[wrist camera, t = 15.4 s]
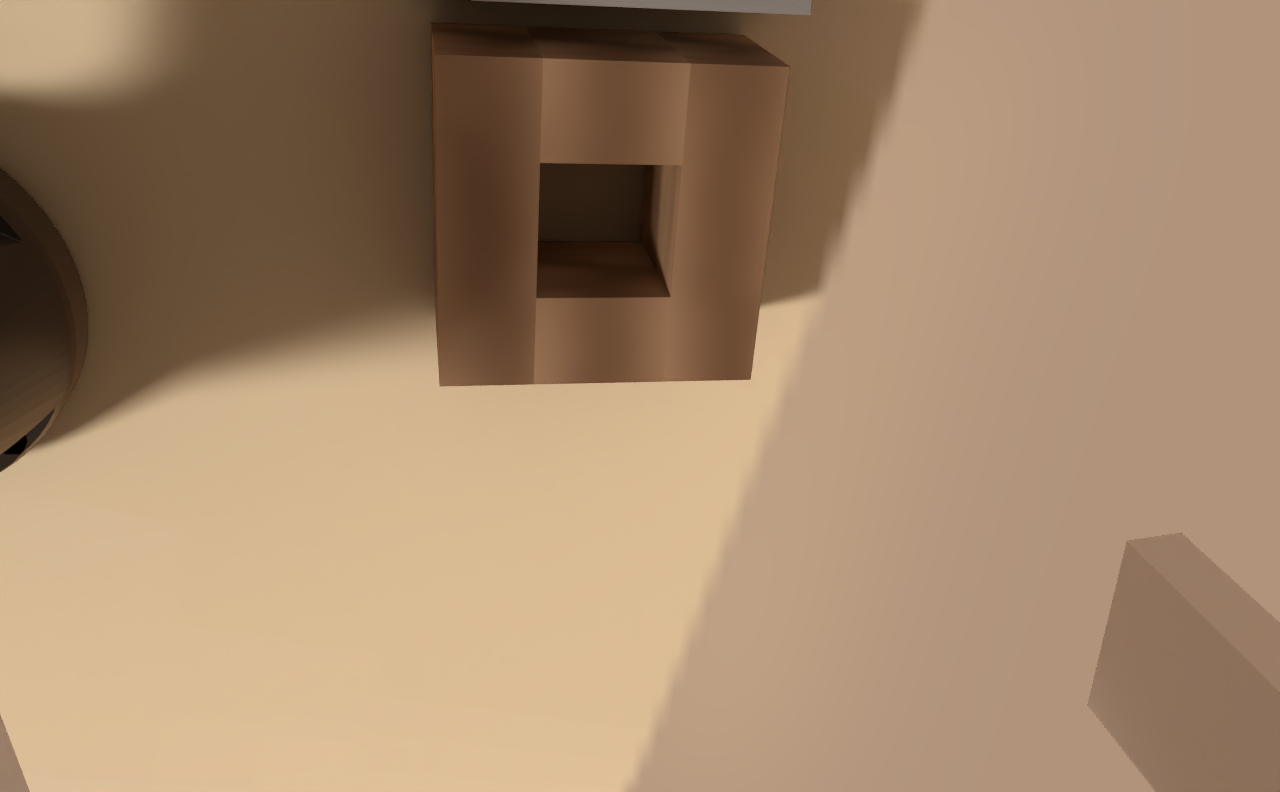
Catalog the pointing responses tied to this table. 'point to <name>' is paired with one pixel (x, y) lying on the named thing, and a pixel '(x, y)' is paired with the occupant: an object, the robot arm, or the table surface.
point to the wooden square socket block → (601, 271)
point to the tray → (694, 5)
